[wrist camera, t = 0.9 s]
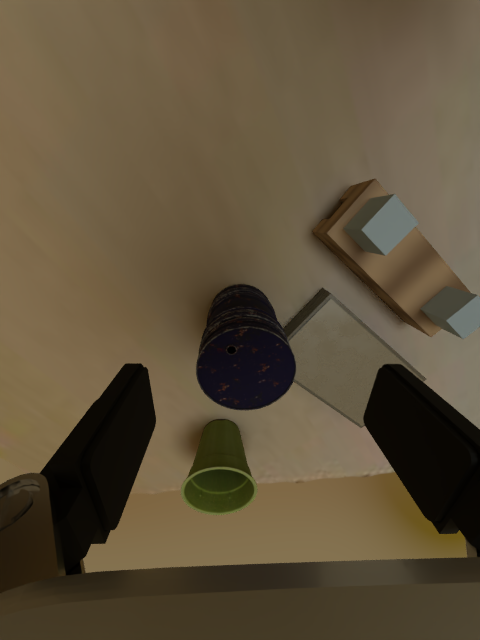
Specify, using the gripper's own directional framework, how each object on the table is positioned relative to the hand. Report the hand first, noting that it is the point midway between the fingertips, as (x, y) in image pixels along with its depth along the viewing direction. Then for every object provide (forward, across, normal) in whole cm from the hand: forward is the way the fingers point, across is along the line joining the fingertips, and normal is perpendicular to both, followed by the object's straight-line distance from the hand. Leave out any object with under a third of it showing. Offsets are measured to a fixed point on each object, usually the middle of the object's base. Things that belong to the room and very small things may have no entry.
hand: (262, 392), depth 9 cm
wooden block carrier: (+26, -20, -2) cm, 33 cm away
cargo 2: (+20, -27, +3) cm, 34 cm away
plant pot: (+26, +3, +32) cm, 41 cm away
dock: (+26, -18, +15) cm, 35 cm away
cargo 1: (+20, -14, -6) cm, 26 cm away
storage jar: (+26, 0, +7) cm, 27 cm away
